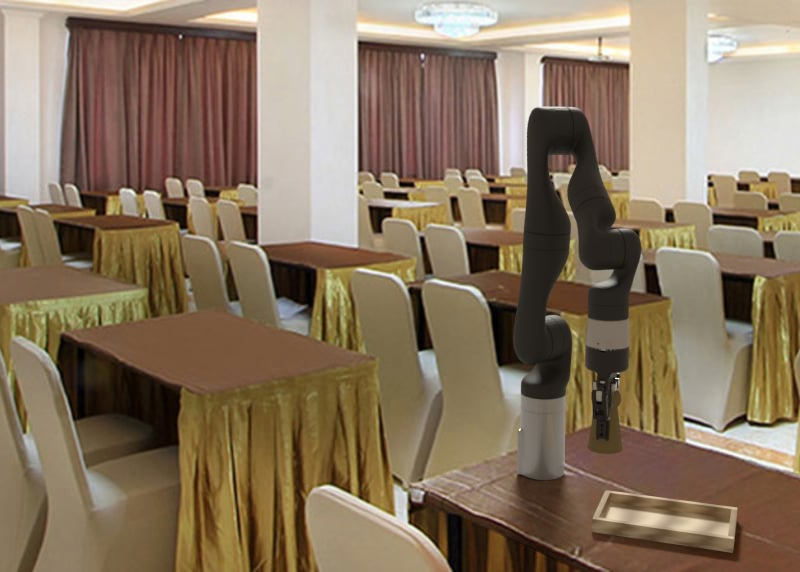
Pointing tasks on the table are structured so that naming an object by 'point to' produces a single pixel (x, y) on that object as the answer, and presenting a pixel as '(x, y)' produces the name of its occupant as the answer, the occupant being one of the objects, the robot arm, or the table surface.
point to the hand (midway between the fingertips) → (605, 435)
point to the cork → (614, 431)
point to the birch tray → (666, 520)
